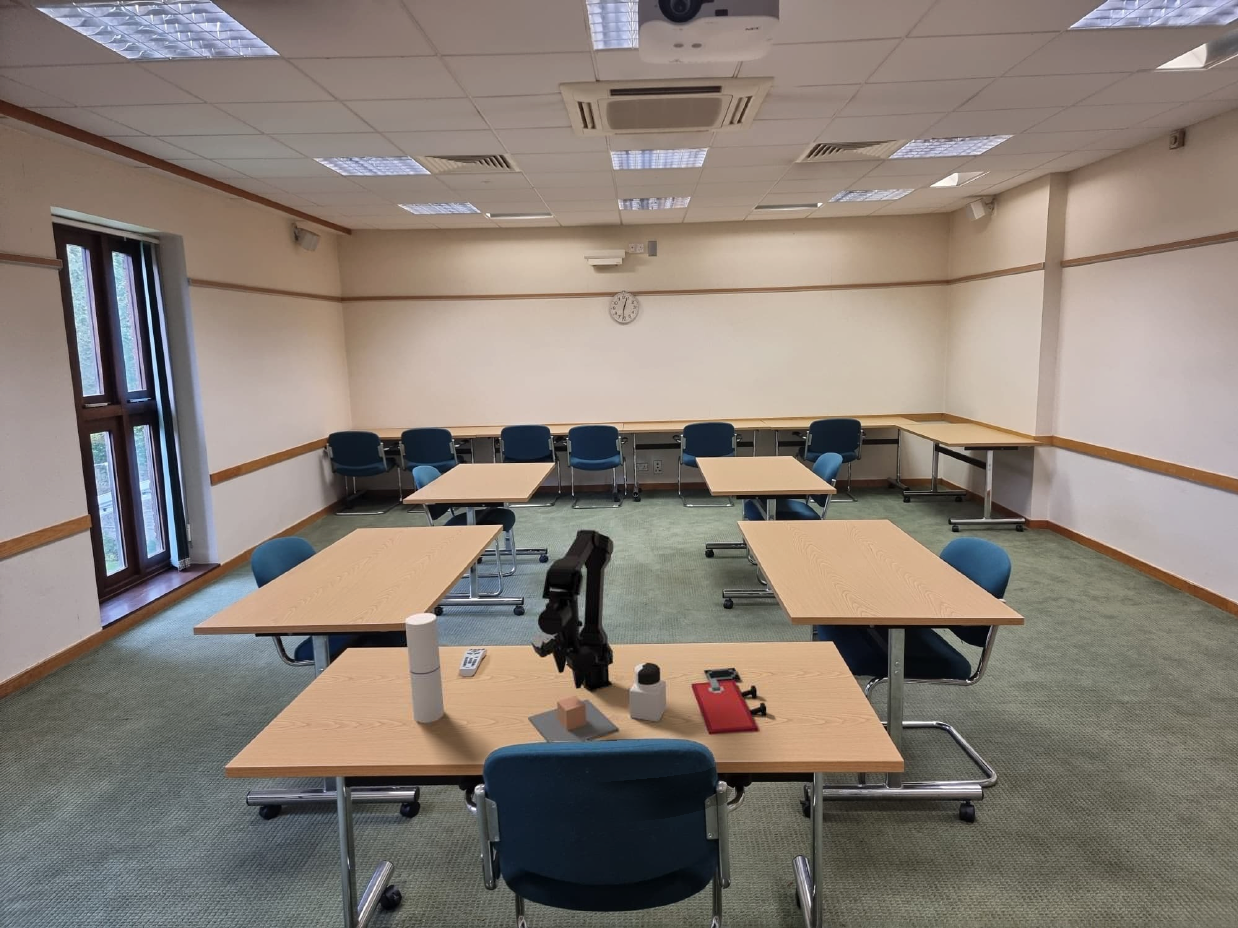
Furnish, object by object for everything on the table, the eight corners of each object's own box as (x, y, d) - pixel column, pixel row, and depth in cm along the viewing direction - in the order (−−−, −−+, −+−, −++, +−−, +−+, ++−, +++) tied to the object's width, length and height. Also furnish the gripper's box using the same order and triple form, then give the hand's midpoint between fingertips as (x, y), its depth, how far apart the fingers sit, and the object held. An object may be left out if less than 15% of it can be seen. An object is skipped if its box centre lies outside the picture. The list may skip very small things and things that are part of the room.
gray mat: (587, 700, 177) (587, 699, 177) (618, 730, 163) (618, 728, 163) (528, 719, 169) (528, 717, 169) (555, 751, 155) (555, 749, 155)
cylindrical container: (417, 725, 168) (408, 626, 163) (411, 712, 174) (402, 616, 170) (447, 717, 171) (439, 620, 167) (440, 704, 177) (432, 610, 173)
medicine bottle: (666, 707, 172) (665, 661, 170) (658, 722, 166) (657, 674, 164) (638, 703, 175) (637, 658, 173) (629, 717, 168) (628, 671, 166)
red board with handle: (741, 670, 191) (686, 674, 190) (741, 660, 190) (686, 665, 189) (773, 731, 161) (709, 737, 160) (773, 720, 161) (709, 726, 160)
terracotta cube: (577, 714, 169) (576, 695, 168) (586, 724, 165) (585, 704, 164) (558, 720, 167) (557, 701, 166) (567, 730, 163) (566, 710, 162)
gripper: (518, 611, 166) (522, 673, 169) (550, 639, 150) (554, 706, 153) (561, 602, 172) (564, 661, 174) (596, 627, 156) (599, 692, 158)
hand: (569, 680), depth 165 cm, fingers open, 9 cm apart
